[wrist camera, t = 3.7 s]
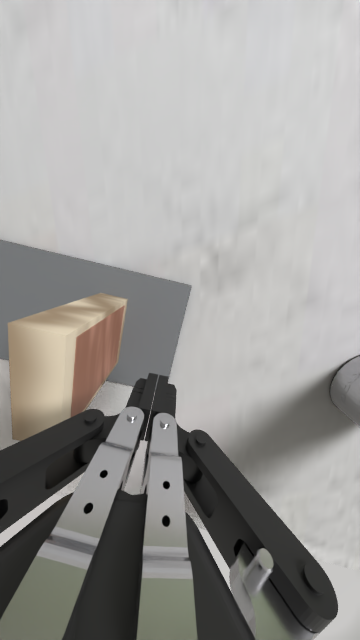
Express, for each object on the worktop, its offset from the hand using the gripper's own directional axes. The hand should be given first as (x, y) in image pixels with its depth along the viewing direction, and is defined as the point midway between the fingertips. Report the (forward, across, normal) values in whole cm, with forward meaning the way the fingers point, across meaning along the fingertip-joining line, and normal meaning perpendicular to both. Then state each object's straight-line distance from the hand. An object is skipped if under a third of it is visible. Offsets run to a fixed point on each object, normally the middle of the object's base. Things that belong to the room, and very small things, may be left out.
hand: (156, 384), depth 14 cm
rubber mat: (+9, +10, 0) cm, 13 cm away
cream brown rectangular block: (+8, +7, 0) cm, 10 cm away
